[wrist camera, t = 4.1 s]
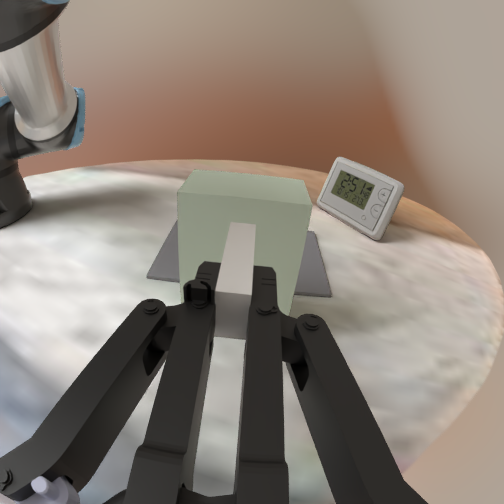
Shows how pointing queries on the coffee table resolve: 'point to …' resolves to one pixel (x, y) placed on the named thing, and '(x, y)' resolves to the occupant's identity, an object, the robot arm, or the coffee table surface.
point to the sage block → (244, 211)
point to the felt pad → (309, 274)
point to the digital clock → (360, 197)
